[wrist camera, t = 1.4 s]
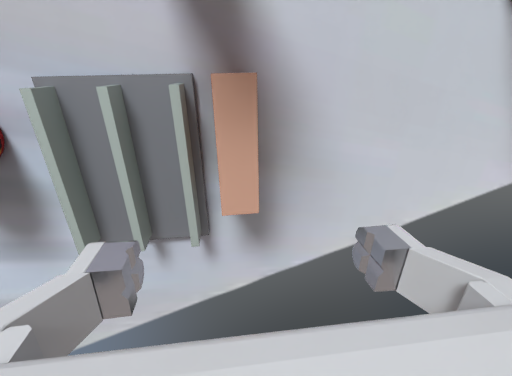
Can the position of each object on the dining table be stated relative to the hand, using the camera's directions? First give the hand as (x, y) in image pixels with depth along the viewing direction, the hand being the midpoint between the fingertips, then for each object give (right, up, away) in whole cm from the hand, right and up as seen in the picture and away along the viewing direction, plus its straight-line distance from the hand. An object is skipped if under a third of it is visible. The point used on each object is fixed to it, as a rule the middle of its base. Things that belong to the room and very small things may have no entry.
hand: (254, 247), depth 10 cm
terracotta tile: (-3, +10, +25) cm, 27 cm away
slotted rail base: (-16, +5, +25) cm, 30 cm away
